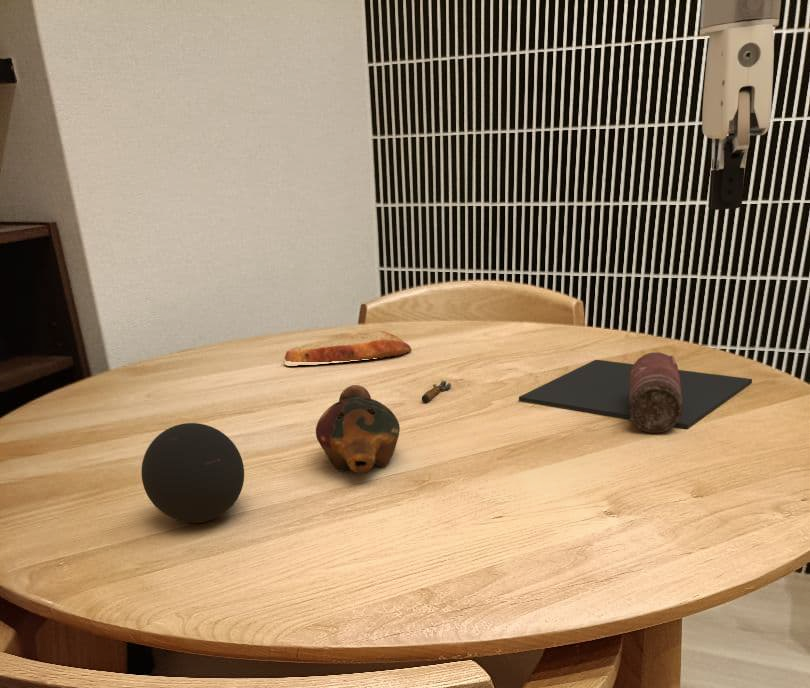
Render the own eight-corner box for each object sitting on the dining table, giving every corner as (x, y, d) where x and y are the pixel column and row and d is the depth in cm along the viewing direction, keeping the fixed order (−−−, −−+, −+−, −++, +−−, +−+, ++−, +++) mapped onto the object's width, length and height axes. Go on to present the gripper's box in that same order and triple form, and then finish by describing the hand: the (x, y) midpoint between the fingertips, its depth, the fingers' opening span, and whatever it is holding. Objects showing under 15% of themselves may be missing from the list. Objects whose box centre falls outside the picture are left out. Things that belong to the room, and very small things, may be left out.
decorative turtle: (389, 437, 103) (389, 375, 99) (411, 490, 90) (411, 422, 86) (312, 442, 102) (308, 380, 98) (323, 497, 89) (319, 428, 85)
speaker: (230, 541, 79) (213, 443, 75) (135, 538, 81) (112, 443, 77) (263, 499, 88) (250, 409, 84) (177, 497, 90) (159, 410, 85)
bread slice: (274, 365, 139) (271, 343, 138) (340, 341, 152) (338, 321, 150) (357, 376, 130) (355, 353, 128) (420, 349, 143) (419, 328, 141)
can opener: (428, 403, 114) (427, 395, 114) (413, 402, 115) (412, 394, 115) (455, 385, 121) (455, 378, 121) (441, 384, 123) (440, 377, 122)
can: (665, 374, 94) (663, 339, 106) (618, 405, 97) (621, 368, 109) (695, 415, 95) (689, 376, 107) (647, 444, 99) (647, 403, 110)
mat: (751, 383, 114) (752, 378, 113) (687, 429, 99) (687, 424, 99) (595, 363, 128) (595, 359, 128) (518, 400, 113) (518, 396, 113)
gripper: (803, -1, 76) (781, 211, 84) (757, 18, 89) (741, 199, 97) (719, 9, 77) (705, 218, 85) (685, 26, 90) (676, 205, 98)
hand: (724, 207), depth 91 cm, fingers closed
